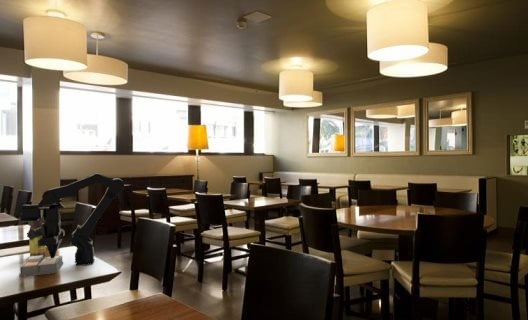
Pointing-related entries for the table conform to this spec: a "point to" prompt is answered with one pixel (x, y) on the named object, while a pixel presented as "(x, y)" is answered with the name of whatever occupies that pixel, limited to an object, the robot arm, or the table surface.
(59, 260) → the keypad housing
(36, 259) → the grey key
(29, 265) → the terracotta key
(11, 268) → the table surface
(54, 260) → the cream key
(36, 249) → the sauce bottle
